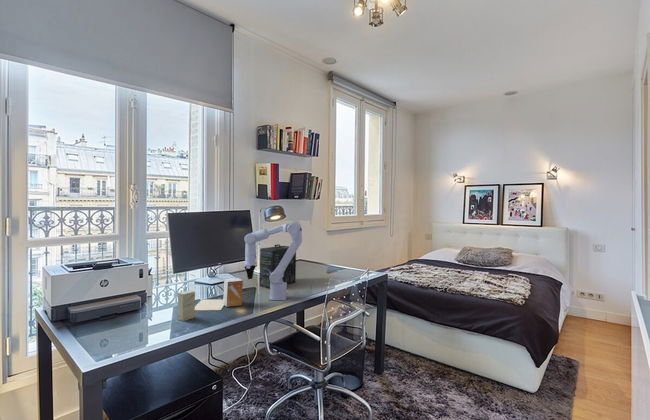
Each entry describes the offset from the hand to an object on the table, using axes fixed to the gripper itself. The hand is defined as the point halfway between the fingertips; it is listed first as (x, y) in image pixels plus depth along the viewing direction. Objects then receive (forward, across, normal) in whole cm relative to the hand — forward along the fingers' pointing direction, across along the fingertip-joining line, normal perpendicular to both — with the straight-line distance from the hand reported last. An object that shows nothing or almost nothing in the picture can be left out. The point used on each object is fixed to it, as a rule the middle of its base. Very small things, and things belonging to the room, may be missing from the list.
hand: (250, 278), depth 185 cm
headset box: (+10, -28, +14) cm, 33 cm away
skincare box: (+11, +33, -23) cm, 42 cm away
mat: (+10, +14, -18) cm, 25 cm away
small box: (+10, +13, -7) cm, 18 cm away
